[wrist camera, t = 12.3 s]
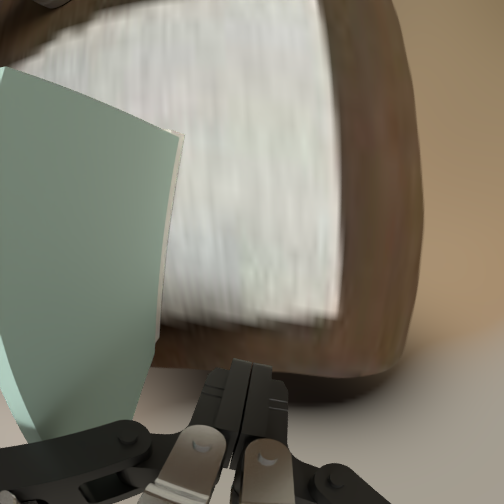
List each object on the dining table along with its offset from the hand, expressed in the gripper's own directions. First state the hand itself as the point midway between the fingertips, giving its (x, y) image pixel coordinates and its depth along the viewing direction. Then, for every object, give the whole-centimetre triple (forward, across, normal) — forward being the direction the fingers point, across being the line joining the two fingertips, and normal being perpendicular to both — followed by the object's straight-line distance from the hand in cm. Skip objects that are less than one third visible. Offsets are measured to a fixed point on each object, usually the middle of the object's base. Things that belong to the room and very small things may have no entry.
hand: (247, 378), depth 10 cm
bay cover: (+2, +7, 0) cm, 8 cm away
